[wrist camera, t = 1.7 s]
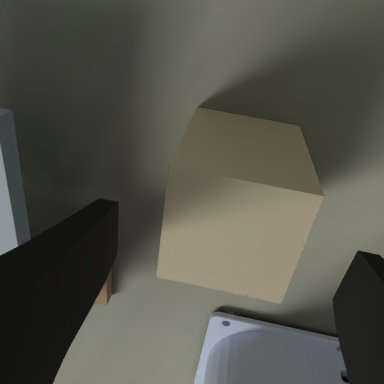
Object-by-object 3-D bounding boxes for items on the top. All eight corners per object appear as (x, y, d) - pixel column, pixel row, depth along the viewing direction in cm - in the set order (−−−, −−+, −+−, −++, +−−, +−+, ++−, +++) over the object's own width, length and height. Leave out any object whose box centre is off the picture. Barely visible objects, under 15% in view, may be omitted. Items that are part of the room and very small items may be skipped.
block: (299, 125, 15) (324, 196, 10) (272, 210, 17) (281, 303, 12) (197, 106, 15) (168, 165, 10) (184, 192, 17) (156, 276, 12)
